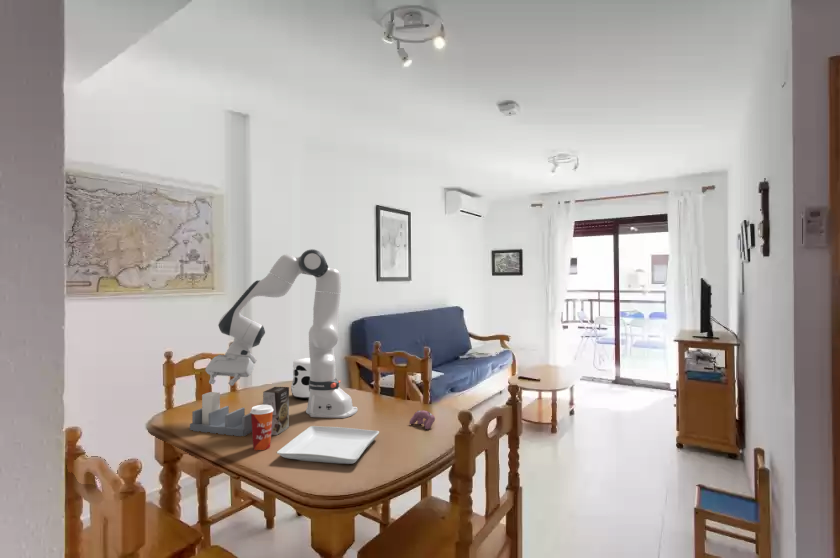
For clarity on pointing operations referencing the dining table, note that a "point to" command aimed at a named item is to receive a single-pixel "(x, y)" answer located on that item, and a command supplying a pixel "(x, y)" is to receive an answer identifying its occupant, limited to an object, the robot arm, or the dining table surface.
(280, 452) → the square plate
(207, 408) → the cream block
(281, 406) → the coffee box
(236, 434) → the rack
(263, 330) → the robot arm
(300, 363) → the milk container
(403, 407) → the dining table surface
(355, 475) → the dining table surface
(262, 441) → the paper cup
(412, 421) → the purple arched piece
